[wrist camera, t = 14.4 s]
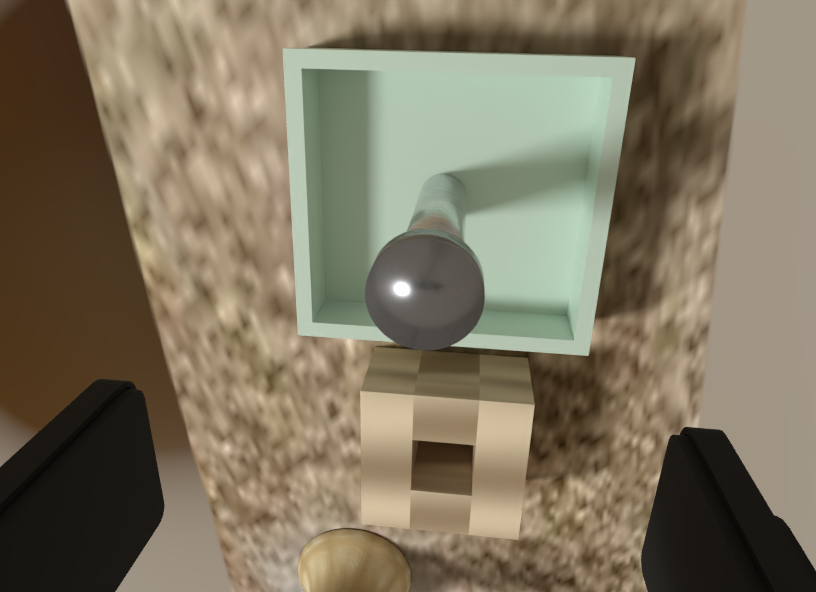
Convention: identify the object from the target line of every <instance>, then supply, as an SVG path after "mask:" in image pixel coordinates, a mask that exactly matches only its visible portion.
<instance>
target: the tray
mask: <svg viewBox="0 0 816 592" xmlns="http://www.w3.org/2000/svg"><path fill="white" fill-rule="evenodd" d="M635 59H636V58H633V57H624V56H609V55H571V54H534V53H496V52H458V51H421V50H383V49H345V48H308V47H306V48H283V64H284V83H285V101H286V120H287V138H288V157H289V176H290V194H291V213H292V231H293V250H294V268H295V287H296V306H297V324H298V335H304V336H318V337H332V338H346V339H360V340H374V341H388V342H394V341H392V340H391V339H389V338H388V337H387V336H385V335H384V334H383V333H382V332H381V331H380V330H379V329H378V328H377V326H376V325H375V323H374V322H373V320H372V319H371V317H370V315H369V312H368V309H367V306H366V301H365V286H366V281H367V278H368V275H369V272H370V270H371V268H372V265H373V263H374V261H375V259H376V257H377V255H378V253H379V252H380V251H381V249H382V248H383V247H384V246H385V245H386V244H387V243H388V242H389V241H390V240H392V239H393V238H394V237H396V236H398V235H400V234H402V233H404V232H407V229H408V226H409V223H410V220H411V218H412V215H413V212H414V209H415V206H416V203H417V200H418V197H419V194H420V191H421V189H422V186H423V184H424V183H425V182H426V181H427V180H428V179H429V178H430V177H432V176H434V175H437V174H450V175H453V176H455V177H456V178H458V179H459V180H460V181H461V182H462V184H463V185H464V187H465V190H466V195H467V198H466V223H465V243H466V244H467V245H468V246H469V247H470V248H471V249H472V250H473V252H474V253H475V254H476V256H477V258H478V259H479V262H480V264H481V267H482V270H483V275H484V288H485V302H484V308H483V312H482V315H481V317H480V319H479V321H478V323H477V325H476V326H475V328H474V329H473V330H472V331H471V332H470V333H469V334H468V335H467V336H466V337H465V338H463V339H462V340H460V341H459V342H457V343H455V344H453V345H451V346H458V347H472V348H486V349H500V350H514V351H528V352H542V353H556V354H570V355H584V356H589V350H590V343H591V337H592V331H593V324H594V318H595V312H596V305H597V299H598V293H599V286H600V280H601V274H602V268H603V261H604V255H605V249H606V242H607V236H608V230H609V223H610V217H611V211H612V204H613V198H614V192H615V185H616V179H617V173H618V167H619V160H620V154H621V148H622V141H623V135H624V129H625V122H626V116H627V110H628V103H629V97H630V91H631V84H632V78H633V72H634V66H635Z"/></svg>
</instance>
